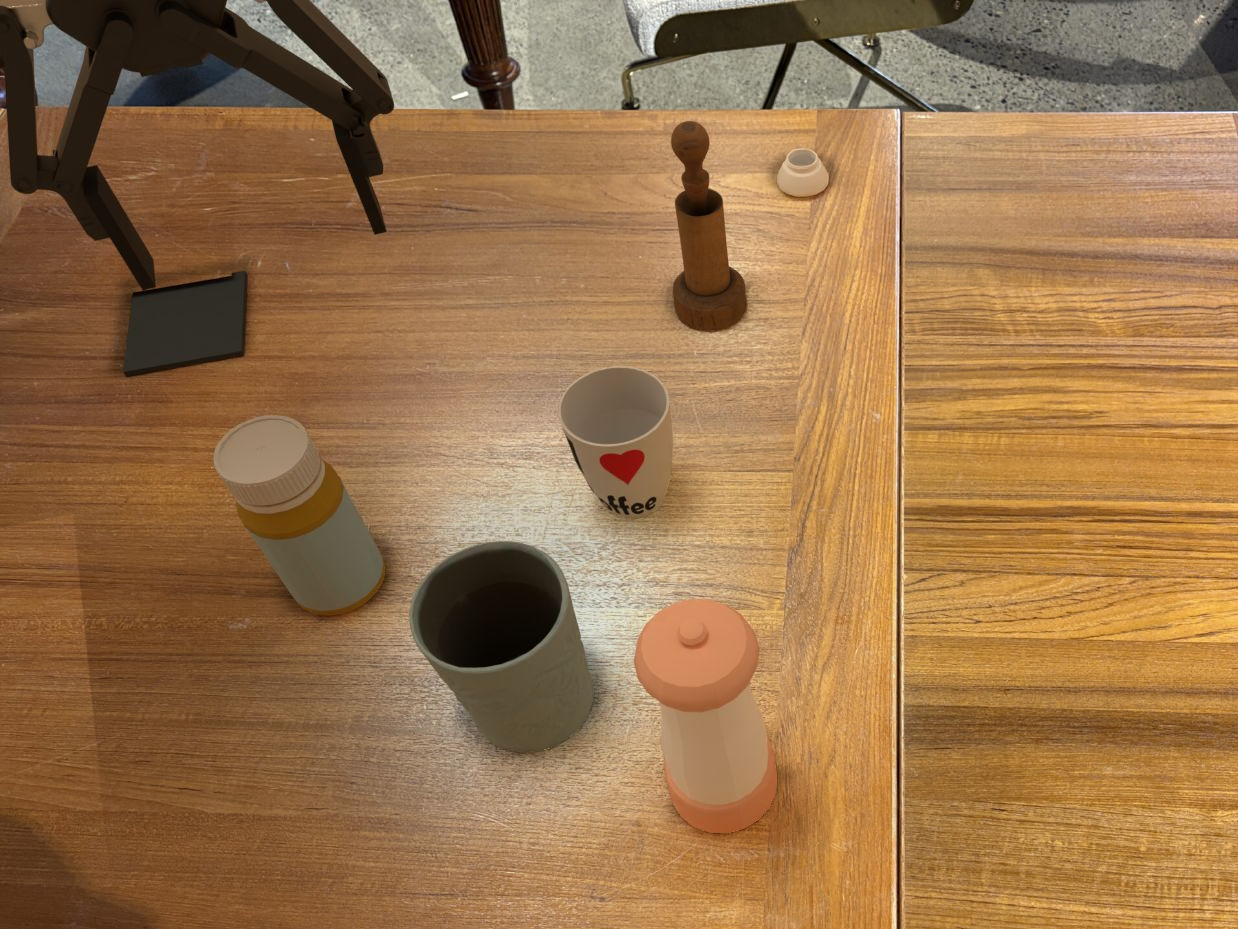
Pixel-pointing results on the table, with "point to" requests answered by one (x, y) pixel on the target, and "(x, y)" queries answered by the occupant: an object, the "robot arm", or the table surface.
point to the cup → (620, 437)
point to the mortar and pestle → (703, 242)
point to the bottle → (300, 514)
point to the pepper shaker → (708, 713)
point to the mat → (186, 324)
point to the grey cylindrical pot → (506, 643)
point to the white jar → (802, 174)
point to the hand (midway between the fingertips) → (265, 247)
